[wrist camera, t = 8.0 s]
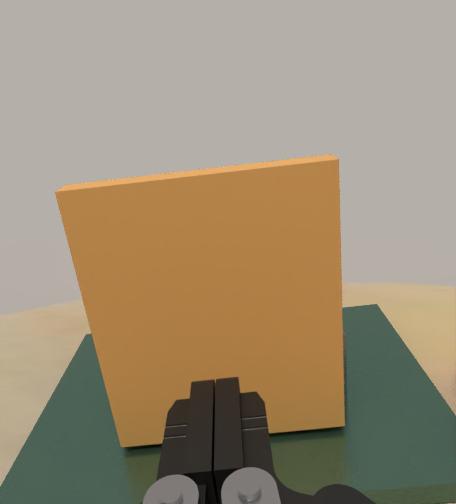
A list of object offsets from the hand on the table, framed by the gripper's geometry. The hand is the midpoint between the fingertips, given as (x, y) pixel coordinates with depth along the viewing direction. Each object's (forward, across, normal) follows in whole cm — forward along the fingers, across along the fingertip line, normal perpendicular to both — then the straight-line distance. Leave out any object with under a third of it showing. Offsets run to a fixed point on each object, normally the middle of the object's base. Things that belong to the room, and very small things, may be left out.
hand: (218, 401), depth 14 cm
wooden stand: (+9, 0, +5) cm, 10 cm away
